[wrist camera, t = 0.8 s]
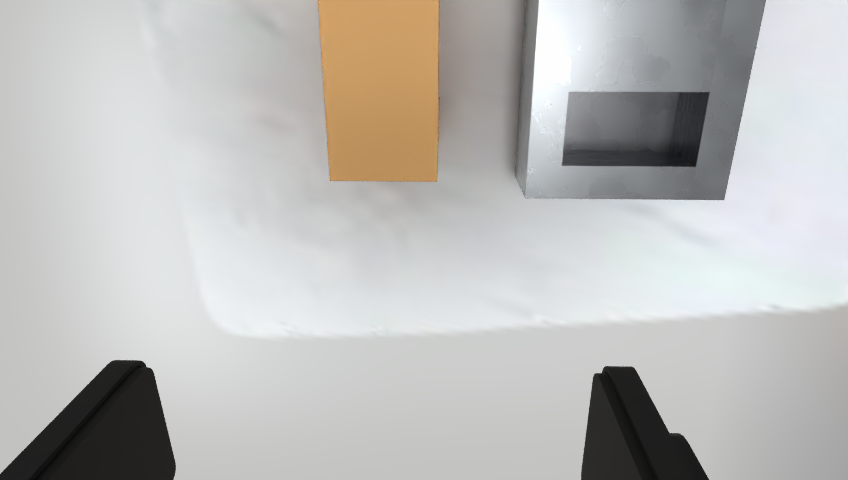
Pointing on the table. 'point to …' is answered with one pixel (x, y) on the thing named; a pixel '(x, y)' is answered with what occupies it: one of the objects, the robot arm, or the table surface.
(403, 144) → the tan wooden arch block
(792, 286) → the table surface
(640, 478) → the robot arm
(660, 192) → the grey slotted base
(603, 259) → the table surface
